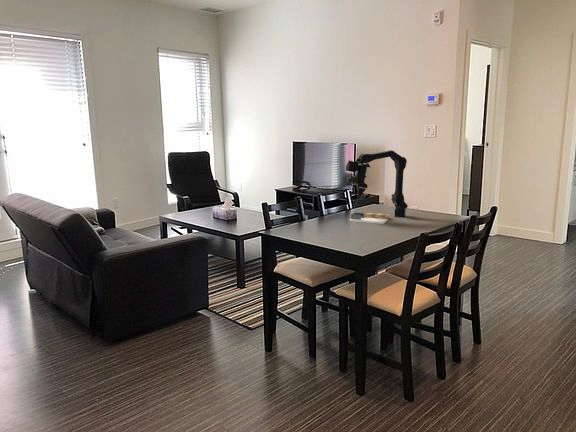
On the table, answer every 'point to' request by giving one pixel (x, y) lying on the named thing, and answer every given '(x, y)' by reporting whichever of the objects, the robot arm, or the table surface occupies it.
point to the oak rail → (376, 215)
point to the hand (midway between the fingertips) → (356, 197)
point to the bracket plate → (366, 219)
